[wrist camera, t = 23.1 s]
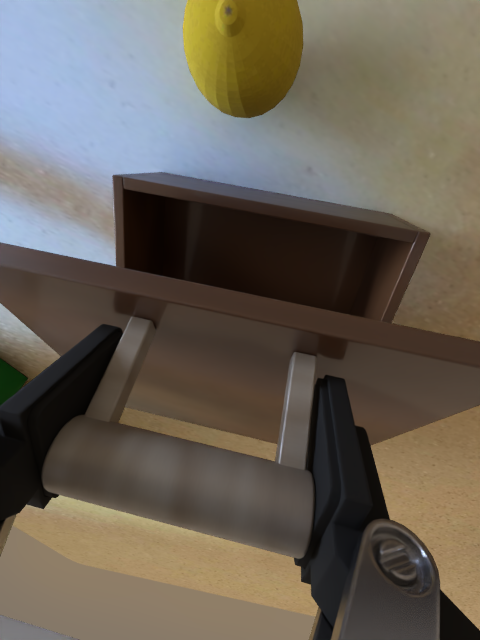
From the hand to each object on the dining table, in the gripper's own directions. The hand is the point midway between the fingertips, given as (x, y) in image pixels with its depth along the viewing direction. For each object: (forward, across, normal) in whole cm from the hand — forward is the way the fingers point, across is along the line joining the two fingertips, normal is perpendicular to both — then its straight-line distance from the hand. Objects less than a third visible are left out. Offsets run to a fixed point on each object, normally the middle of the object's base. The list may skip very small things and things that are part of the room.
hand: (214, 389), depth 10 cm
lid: (+4, 0, +3) cm, 5 cm away
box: (+15, 0, +3) cm, 15 cm away
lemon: (+15, +3, -11) cm, 19 cm away
